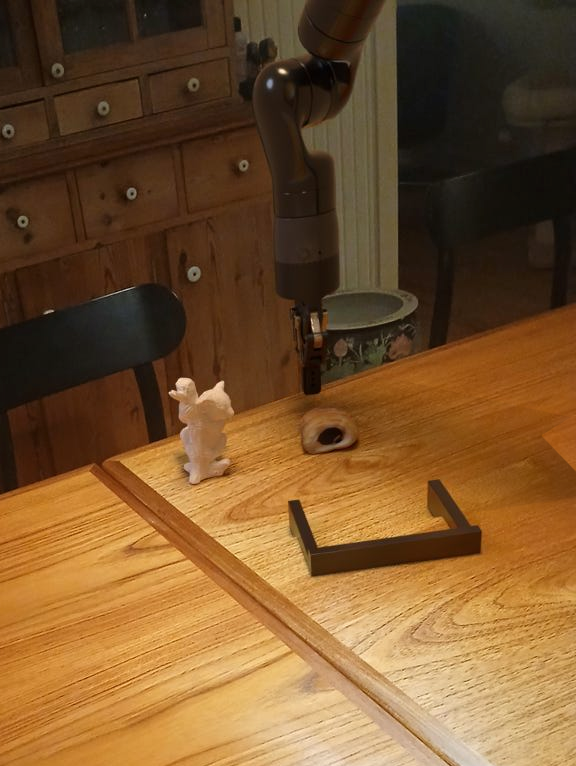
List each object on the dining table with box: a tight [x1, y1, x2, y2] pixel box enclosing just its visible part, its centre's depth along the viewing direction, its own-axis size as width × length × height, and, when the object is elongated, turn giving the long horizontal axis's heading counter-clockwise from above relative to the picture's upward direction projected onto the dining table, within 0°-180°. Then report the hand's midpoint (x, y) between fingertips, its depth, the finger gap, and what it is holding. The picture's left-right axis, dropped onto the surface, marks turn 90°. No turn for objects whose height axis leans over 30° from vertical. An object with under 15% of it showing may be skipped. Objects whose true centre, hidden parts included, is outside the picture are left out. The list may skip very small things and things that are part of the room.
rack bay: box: [287, 478, 483, 577], centre depth 96 cm, size 15×13×4 cm
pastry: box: [298, 406, 360, 455], centre depth 119 cm, size 9×7×4 cm
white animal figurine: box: [168, 377, 235, 485], centre depth 114 cm, size 8×7×12 cm
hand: (311, 392), depth 125 cm, fingers closed
